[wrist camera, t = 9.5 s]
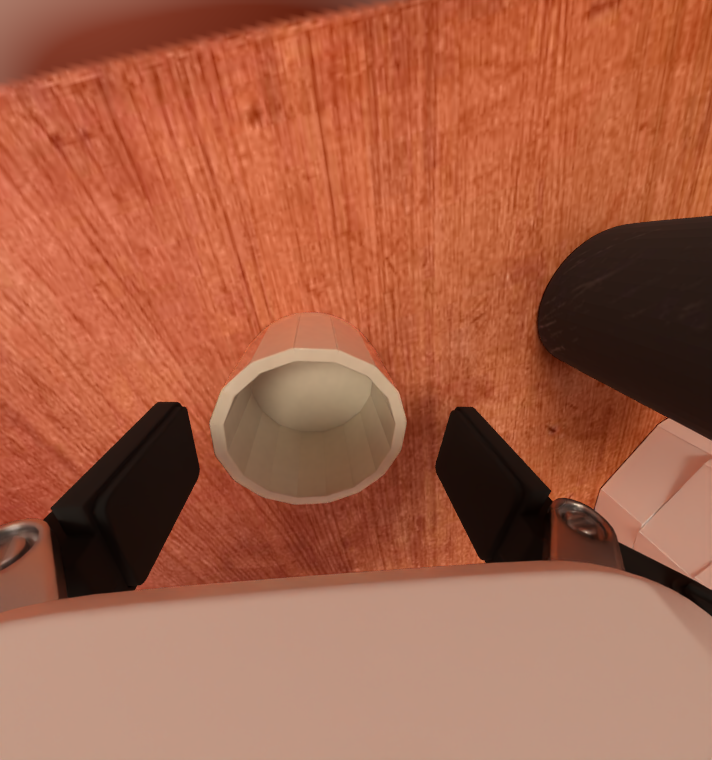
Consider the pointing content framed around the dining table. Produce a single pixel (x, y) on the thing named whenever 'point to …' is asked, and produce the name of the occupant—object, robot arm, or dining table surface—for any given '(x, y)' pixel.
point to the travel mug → (640, 315)
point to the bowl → (308, 412)
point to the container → (665, 500)
